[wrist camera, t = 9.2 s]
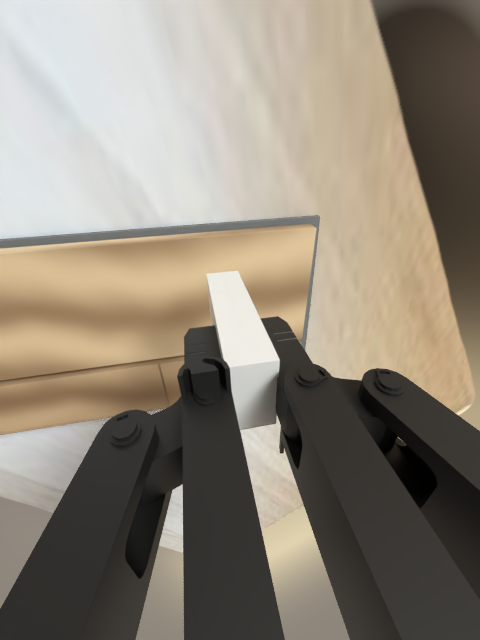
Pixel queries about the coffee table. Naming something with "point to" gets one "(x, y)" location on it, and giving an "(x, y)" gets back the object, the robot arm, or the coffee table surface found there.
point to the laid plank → (88, 394)
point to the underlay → (174, 231)
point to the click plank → (139, 294)
